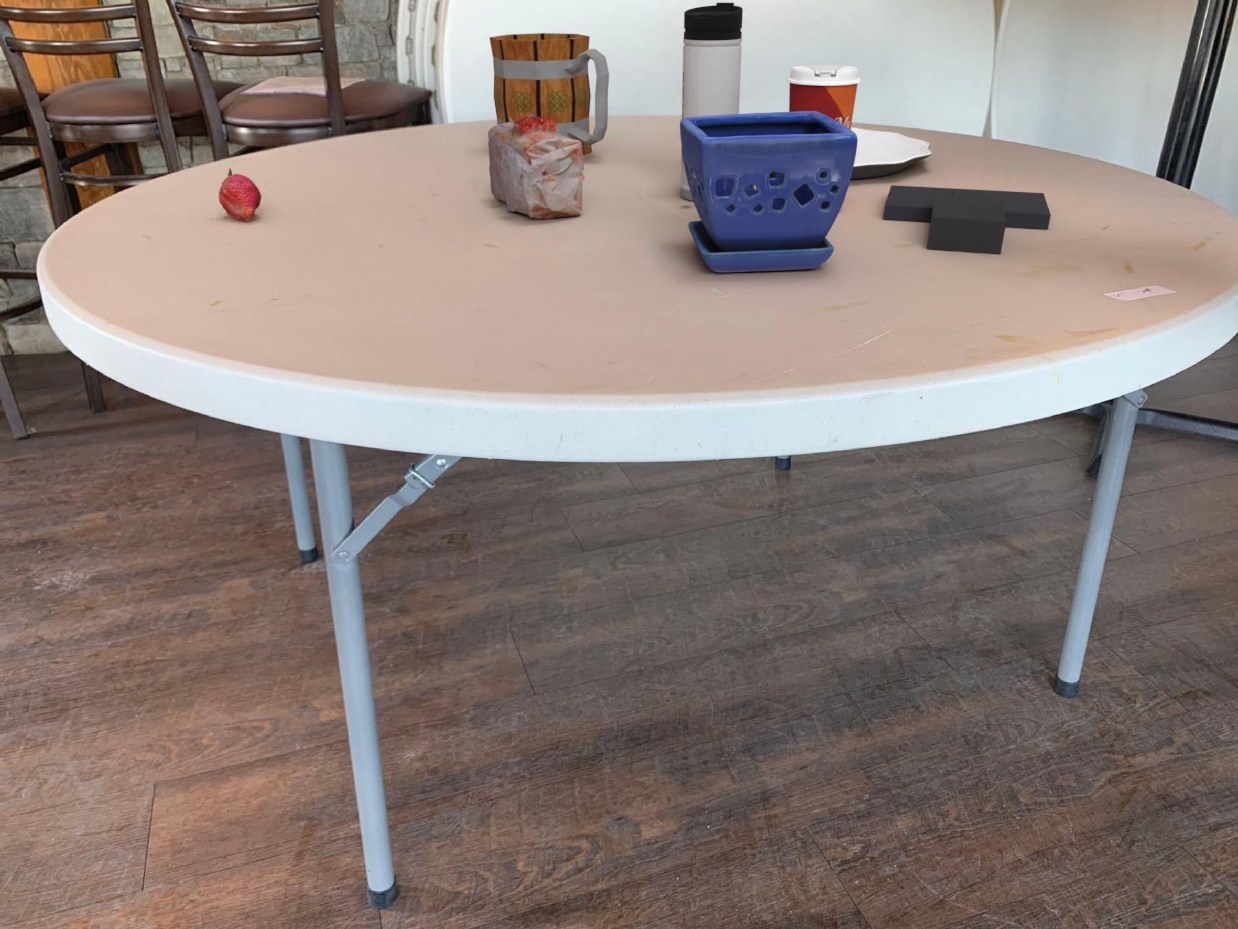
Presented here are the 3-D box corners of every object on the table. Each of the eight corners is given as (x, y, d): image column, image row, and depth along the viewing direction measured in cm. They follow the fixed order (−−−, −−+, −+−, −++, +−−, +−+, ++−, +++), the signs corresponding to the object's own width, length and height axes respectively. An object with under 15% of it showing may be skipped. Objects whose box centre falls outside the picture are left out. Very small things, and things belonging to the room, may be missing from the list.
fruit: (228, 226, 101) (218, 177, 99) (219, 214, 106) (210, 168, 103) (270, 221, 103) (261, 173, 100) (259, 210, 107) (251, 163, 105)
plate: (968, 159, 128) (971, 141, 127) (850, 197, 109) (853, 175, 108) (785, 136, 146) (786, 119, 145) (657, 164, 127) (657, 146, 126)
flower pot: (694, 283, 82) (698, 136, 76) (675, 241, 94) (677, 112, 88) (848, 278, 83) (863, 132, 77) (810, 237, 94) (821, 109, 89)
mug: (477, 152, 137) (468, 37, 130) (549, 140, 145) (545, 31, 138) (569, 171, 124) (564, 45, 117) (642, 156, 133) (642, 38, 126)
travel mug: (745, 193, 112) (754, 2, 103) (720, 204, 107) (728, 5, 98) (696, 187, 115) (701, 1, 105) (670, 199, 110) (673, 4, 100)
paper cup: (850, 211, 104) (864, 71, 97) (778, 209, 105) (787, 71, 98) (846, 195, 111) (859, 63, 104) (779, 193, 112) (787, 63, 105)
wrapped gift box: (595, 217, 103) (593, 120, 98) (526, 226, 99) (520, 126, 95) (543, 193, 113) (539, 104, 109) (479, 201, 110) (472, 109, 105)
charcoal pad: (1041, 206, 105) (1044, 192, 104) (1047, 229, 96) (1051, 214, 95) (889, 198, 109) (891, 184, 108) (883, 219, 100) (884, 204, 100)
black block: (996, 221, 99) (1001, 191, 98) (1000, 254, 89) (1006, 221, 87) (931, 216, 101) (935, 187, 100) (927, 248, 90) (931, 216, 89)
